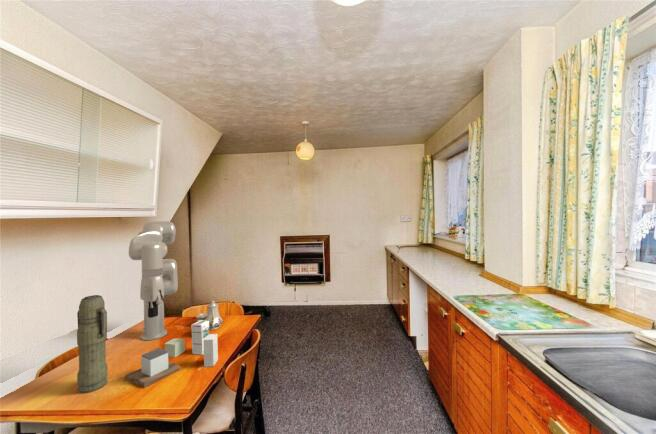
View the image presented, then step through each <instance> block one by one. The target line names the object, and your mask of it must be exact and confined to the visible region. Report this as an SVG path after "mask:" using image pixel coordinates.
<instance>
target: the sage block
mask: <svg viewBox="0 0 656 434" xmlns="http://www.w3.org/2000/svg"><path fill="white" fill-rule="evenodd" d="M185 342H186V340H185V339H184V338H176V337H175V338H173V339H171V340H168V341H167V342H165V343H164V350H165V351H168V358H169V357H170V358H176V357H178V356H180V355H181V354H183V353H184V352H185V351H186V349H185V347H186V346H185V345H186V344H185Z"/></svg>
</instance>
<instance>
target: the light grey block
mask: <svg viewBox="0 0 656 434" xmlns="http://www.w3.org/2000/svg"><path fill="white" fill-rule="evenodd" d="M140 359H141V361H140V363H141V364H140V365H141V366H140V367H141V368H140V369H142V373H144V374H146V375H148V376H150V377H151V376H153V375H156V374H158V373H160V372H162V371H164V370H166V369H168V362H169V356H168V351H165V349H162V348H160V347H158V348H156V349H153V350H150V351H148V352H146V353H144V354H141V356H140Z"/></svg>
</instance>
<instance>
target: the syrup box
mask: <svg viewBox="0 0 656 434" xmlns="http://www.w3.org/2000/svg"><path fill="white" fill-rule="evenodd" d="M191 325H192V328H191V348H192V349H191V350H192V351H191V352H192V355H197V356H199V355H200V356H201V355H203V356H204V339H205V338H206V337H207V335H208V334H210V330H209V321H207V320H199V321H198V320H197V321H196V322H194V323H191Z"/></svg>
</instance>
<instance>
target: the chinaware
mask: <svg viewBox="0 0 656 434" xmlns="http://www.w3.org/2000/svg"><path fill="white" fill-rule="evenodd" d="M206 306H207V312H204V313H198V314H197V315H195V318H196V320H197V322H198V321H199V320H207V321H209V331H212V330H213V331H214V330H217V329H220V328H221V327H220V326H221V325H222V324H223V323H224V320H223V318H222V317H221V316H220V312H219V303H217V302H215V300H212V301H211V302H210V303H208V304H207V305H206ZM190 327H191V328H190V329H192V324H191V325H190ZM219 327H220V328H219Z"/></svg>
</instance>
